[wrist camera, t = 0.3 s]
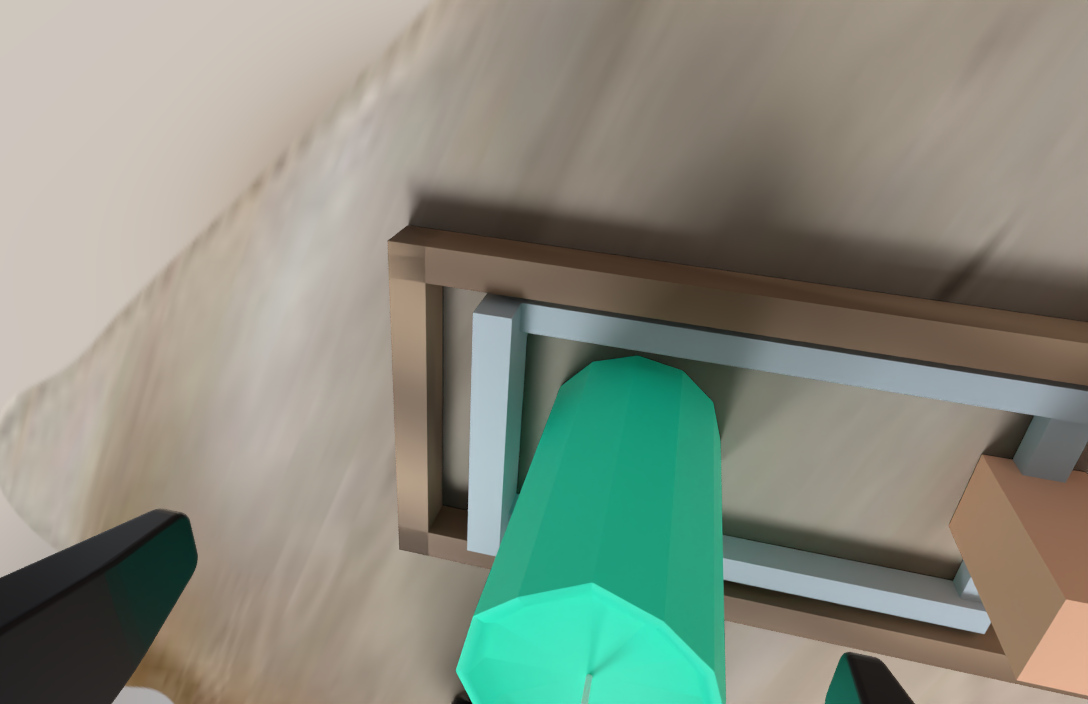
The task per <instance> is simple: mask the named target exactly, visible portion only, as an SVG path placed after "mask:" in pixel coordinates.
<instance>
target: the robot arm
mask: <svg viewBox="0 0 1088 704" xmlns="http://www.w3.org/2000/svg"><path fill="white" fill-rule="evenodd" d="M197 560H198V554H197V549H196V545H195V540H194V536H193V532H192V527H191V523H190V520H189V518H188V517H187V515H186V514H184V513H181V512H177V511H172V510H167V509H155V510H153V511H150V512H148V513H146V514H143V515H141V516H139V517H136V518H134V519H132V520H130V521H127V522H125V523H123V524H121V525H118V526H116V527H114V528H112V529H109V530H107V531H105V532H103V533H100V534H98V535H96V536H94V537H91V538H89V539H87V540H85V541H82V542H80V543H78V544H76V545H73V546H71V547H69V548H67V549H64V550H62V551H60V552H57V553H55V554H53V555H51V556H48V557H46V558H44V559H42V560H40V561H37V562H35V563H33V564H30V565H28V566H26V567H24V568H21V569H19V570H17V571H15V572H13V573H10V574H8V575H6V576H4V577H1V578H0V704H112V702H113V701H114V700H115V698H116V697H117V695H118V694H119V693H120V691H121V690H122V689H123V687H124V686H125V684H126V683H127V681H128V680H129V679H130V677H131V676H132V674H133V673H134V671H135V670H136V668H137V667H138V665H139V664H140V662H141V660H142V659H143V657H144V656H145V654H146V652H147V651H148V649H149V647H150V646H151V644H152V642H153V641H154V639H155V637H156V636H157V634H158V632H159V631H160V629H161V627H162V625H163V624H164V622H165V620H166V619H167V617H168V615H169V614H170V612H171V610H172V609H173V607H174V605H175V604H176V602H177V600H178V599H179V597H180V595H181V593H182V592H183V590H184V588H185V587H186V585H187V583H188V582H189V580H190V578H191V577H192V575H193V573H194V571H195V568H196V565H197ZM452 704H472V702H468V701H464V700H458V699H457V700H454V701H452ZM825 704H915V703H914V702H913V701H912V700H911V698H910V697H909V696H908V694H907V693H906V692H905V690H904V689H903V688H902V686H901V685H900V684H899V682H898V681H897V680H896V678H895V677H894V676H893V674H892V673H891V672H890V670H889V669H888V668H887V666H886V665H885V664H884V663H883V662H882V661H881V660H880V659H878V658H876V657H872V656H867V655H862V654H857V653H853V652H846V653H844V654H843V655H842V657H841V658H840V660H839V663H838V666H837V668H836V671H835V673H834V676H833V679H832V681H831V684H830V686H829V689H828V692H827V695H826V699H825Z"/></svg>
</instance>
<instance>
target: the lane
mask: <svg viewBox="0 0 1088 704" xmlns="http://www.w3.org/2000/svg"><path fill="white" fill-rule="evenodd" d="M388 265H389V291H390V318H391V344H392V370H393V396H394V423H395V449H396V475H397V501H398V528H399V549H400V550H405V551H409V552H414V553H418V554H423V555H427V556H432V557H437V558H441V559H446V560H450V561H455V562H460V563H464V564H469V565H473V566H478V567H483V568H487V569H491V568H492V565H493V563H494V560H495V557H496V556H492V555H487V554H482V553H478V552H473V551H468V550H467V535H468V511H467V510H462V509H457V508H452V507H447V506H443V505H442V396H443V286H447V287H454V288H460V289H466V290H473V291H479V292H486V293H492V294H499V295H505V296H512V297H518V298H525V299H531V300H537V301H544V302H550V303H557V304H563V305H570V306H576V307H583V308H589V309H595V310H602V311H608V312H615V313H621V314H628V315H634V316H641V317H647V318H653V319H660V320H666V321H673V322H679V323H686V324H692V325H699V326H705V327H711V328H718V329H724V330H731V331H737V332H744V333H750V334H757V335H763V336H770V337H776V338H782V339H789V340H795V341H802V342H808V343H815V344H821V345H828V346H834V347H840V348H847V349H853V350H860V351H866V352H873V353H879V354H886V355H892V356H898V357H905V358H911V359H918V360H924V361H931V362H937V363H944V364H950V365H956V366H963V367H969V368H976V369H982V370H989V371H995V372H1002V373H1008V374H1015V375H1021V376H1027V377H1034V378H1040V379H1047V380H1053V381H1060V382H1066V383H1073V384H1079V385H1085V386H1088V322H1083V321H1076V320H1069V319H1062V318H1055V317H1048V316H1041V315H1033V314H1026V313H1019V312H1012V311H1005V310H998V309H991V308H984V307H977V306H970V305H963V304H956V303H949V302H942V301H935V300H928V299H921V298H914V297H907V296H900V295H893V294H886V293H879V292H872V291H865V290H858V289H851V288H844V287H837V286H830V285H823V284H816V283H809V282H802V281H795V280H788V279H781V278H774V277H767V276H760V275H753V274H745V273H738V272H731V271H724V270H717V269H710V268H703V267H696V266H689V265H682V264H675V263H668V262H661V261H654V260H647V259H640V258H633V257H626V256H619V255H612V254H605V253H598V252H591V251H584V250H577V249H570V248H563V247H556V246H549V245H542V244H535V243H528V242H521V241H514V240H507V239H500V238H493V237H486V236H479V235H472V234H465V233H457V232H450V231H443V230H436V229H429V228H422V227H415V226H408V225H407V226H406V227H405V228H404V229H402V230H401V231H400V232H398V233H397V234H396V235H395V236H393V237H392V238H391V239H389V240H388ZM723 584H724V620H726V621H730V622H735V623H740V624H744V625H749V626H753V627H758V628H762V629H767V630H772V631H776V632H781V633H785V634H790V635H795V636H799V637H804V638H808V639H813V640H818V641H822V642H827V643H831V644H836V645H841V646H845V647H850V648H854V649H859V650H863V651H868V652H873V653H877V654H882V655H886V656H891V657H896V658H900V659H905V660H909V661H914V662H919V663H923V664H928V665H932V666H937V667H941V668H946V669H951V670H955V671H960V672H964V673H969V674H974V675H978V676H983V677H987V678H992V679H997V680H1001V681H1006V682H1010V683H1015V684H1020V685H1024V686H1029V687H1033V688H1038V689H1042V690H1047V691H1052V692H1056V693H1061V694H1065V695H1070V696H1075V697H1079V698H1084V699H1088V696H1087V695H1082V694H1078V693H1073V692H1069V691H1064V690H1059V689H1055V688H1050V687H1046V686H1041V685H1036V684H1032V683H1027V682H1023V681H1018V680H1016V678H1015V676H1014V673H1013V671H1012V669H1011V666H1010V664H1009V662H1008V660H1007V657H1006V655H1005V653H1004V651H1003V648H1002V646H1001V644H1000V641H999V639H998V637H997V635H996V632H995V630H994V628H993V626H992V623H990V625H989V627H988V629H987V630H986V632H985V634H981V633H976V632H971V631H967V630H962V629H957V628H952V627H948V626H943V625H938V624H933V623H928V622H924V621H919V620H914V619H909V618H904V617H900V616H895V615H890V614H885V613H881V612H876V611H871V610H866V609H861V608H857V607H852V606H847V605H842V604H838V603H833V602H828V601H823V600H818V599H814V598H809V597H804V596H799V595H795V594H790V593H785V592H780V591H775V590H771V589H766V588H761V587H756V586H751V585H747V584H742V583H737V582H732V581H728V580H723Z"/></svg>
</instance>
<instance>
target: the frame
mask: <svg viewBox="0 0 1088 704" xmlns="http://www.w3.org/2000/svg"><path fill="white" fill-rule="evenodd" d="M527 333H532V334H538V335H544V336H550V337H556V338H562V339H569V340H575V341H581V342H587V343H593V344H599V345H605V346H612V347H618V348H624V349H630V350H636V351H642V352H648V353H655V354H661V355H667V356H673V357H679V358H685V359H691V360H698V361H704V362H710V363H716V364H722V365H728V366H734V367H741V368H747V369H753V370H759V371H765V372H771V373H777V374H784V375H790V376H796V377H802V378H808V379H814V380H820V381H827V382H833V383H839V384H845V385H851V386H857V387H863V388H870V389H876V390H882V391H888V392H894V393H900V394H906V395H913V396H919V397H925V398H931V399H937V400H943V401H949V402H956V403H962V404H968V405H974V406H980V407H986V408H992V409H999V410H1005V411H1011V412H1017V413H1023V414H1029V415H1034V417H1033V419H1032V421H1031V423H1030V425H1029V427H1028V429H1027V431H1026V433H1025V436H1024V438H1023V440H1022V442H1021V444H1020V446H1019V448H1018V450H1017V452H1016V454H1015V456H1014V458H1013V460H1011V459H1006V458H1000V457H994V456H988V455H981V457H980V460H979V462H978V464H977V466H976V468H975V470H974V473H973V475H972V477H971V479H970V481H969V483H968V485H967V488H966V490H965V492H964V494H963V496H962V498H961V501H960V503H959V505H958V507H957V509H956V511H955V513H954V516H953V518H952V520H951V522H950V524H949V528H950V530H951V533H952V535H953V537H954V539H955V542H956V544H957V546H958V548H959V551H960V553H961V555H962V558H963V561H962V563H961V565H960V567H959V569H958V571H957V574H956V576H955V578H954V580H953V581H951V580H946V579H941V578H936V577H931V576H926V575H921V574H916V573H911V572H906V571H901V570H896V569H891V568H886V567H881V566H876V565H871V564H866V563H861V562H856V561H851V560H846V559H841V558H836V557H831V556H826V555H821V554H816V553H811V552H806V551H801V550H796V549H791V548H786V547H781V546H776V545H771V544H766V543H761V542H756V541H751V540H746V539H741V538H736V537H731V536H726V535H723V580H728V581H732V582H737V583H742V584H747V585H751V586H756V587H761V588H766V589H771V590H775V591H780V592H785V593H790V594H795V595H799V596H804V597H809V598H814V599H818V600H823V601H828V602H833V603H838V604H842V605H847V606H852V607H857V608H861V609H866V610H871V611H876V612H881V613H885V614H890V615H895V616H900V617H904V618H909V619H914V620H919V621H924V622H928V623H933V624H938V625H943V626H948V627H952V628H957V629H962V630H967V631H971V632H976V633H981V634H985V632H986V630H987V629H988V627H989V625H990V623H992V626H993V628H994V630H995V632H996V635H997V637H998V639H999V641H1000V644H1001V646H1002V648H1003V651H1004V653H1005V655H1006V657H1007V660H1008V662H1009V664H1010V666H1011V669H1012V671H1013V673H1014V676H1015V678H1016V680H1018V681H1023V682H1027V683H1032V684H1036V685H1041V686H1046V687H1050V688H1055V689H1059V690H1064V691H1069V692H1073V693H1078V694H1082V695H1087V696H1088V475H1087V473H1086V472H1081V471H1075V470H1073V468H1074V466H1075V464H1076V463H1077V461H1078V459H1079V457H1080V455H1081V454H1082V452H1083V450H1084V448H1085V446H1086V444H1087V443H1088V386H1085V385H1079V384H1073V383H1066V382H1060V381H1053V380H1047V379H1040V378H1034V377H1027V376H1021V375H1015V374H1008V373H1002V372H995V371H989V370H982V369H976V368H969V367H963V366H956V365H950V364H944V363H937V362H931V361H924V360H918V359H911V358H905V357H898V356H892V355H886V354H879V353H873V352H866V351H860V350H853V349H847V348H840V347H834V346H828V345H821V344H815V343H808V342H802V341H795V340H789V339H782V338H776V337H770V336H763V335H757V334H750V333H744V332H737V331H731V330H724V329H718V328H711V327H705V326H699V325H692V324H686V323H679V322H673V321H666V320H660V319H653V318H647V317H641V316H634V315H628V314H621V313H615V312H608V311H602V310H595V309H589V308H583V307H576V306H570V305H563V304H557V303H550V302H544V301H537V300H531V299H525V298H518V297H512V296H505V295H499V294H492V293H487V294H486V296H485V297H484V299H483V300H482V301H481V303H480V304H479V305H478V307H477V308H476V309H475V311H474V312H473V336H472V375H471V415H470V455H469V495H468V535H467V550H468V551H473V552H478V553H482V554H487V555H492V556H496V555H497V552H498V550H499V547H500V544H501V542H502V539H503V536H504V534H505V531H506V529H507V526H508V523H509V521H510V518H511V515H512V513H513V510H514V507H515V505H516V502H517V500H518V497H519V494H517V479H518V464H519V449H520V435H521V420H522V405H523V390H524V375H525V361H526V346H527Z"/></svg>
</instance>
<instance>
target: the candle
mask: <svg viewBox="0 0 1088 704" xmlns="http://www.w3.org/2000/svg"><path fill="white" fill-rule="evenodd" d="M456 673H457V675H458V677H459V678H460V680H461V682H462V684H463V686H464V688H465V690H466V692H467V694H468V696H469V698H470V700H471V702H472V704H726V683H725V633H724V584H723V534H722V485H721V440H720V435H719V430H718V424H717V419H716V414H715V409H714V403H713V402H712V401H711V399H710V398H709V397H708V396H707V395H706V394H705V393H704V392H703V391H702V390H701V389H700V388H699V387H698V386H697V385H696V384H695V383H694V382H693V381H692V380H691V378H690V377H689V376H688V375H687V374H686V373H685V372H684V371H683V370H680V369H677V368H674V367H671V366H668V365H665V364H662V363H659V362H656V361H653V360H650V359H647V358H644V357H641V356H638V355H637V356H630V357H623V358H616V359H609V360H602V361H594V362H592V363H590V364H589V365H588V366H586V367H585V368H584V369H583V370H581V371H580V372H579V373H577V374H576V375H575V376H573V377H572V378H571V379H570V380H568V381H567V382H566V383H564V384H563V385H562V386H560V389H559V392H558V394H557V397H556V399H555V402H554V405H553V407H552V410H551V413H550V415H549V418H548V420H547V423H546V426H545V428H544V431H543V434H542V436H541V439H540V442H539V444H538V447H537V449H536V452H535V455H534V457H533V460H532V463H531V465H530V468H529V471H528V473H527V476H526V478H525V481H524V484H523V486H522V489H521V492H520V494H519V497H518V500H517V502H516V505H515V507H514V510H513V513H512V515H511V518H510V521H509V523H508V526H507V529H506V531H505V534H504V536H503V539H502V542H501V544H500V547H499V550H498V552H497V555H496V557H495V560H494V563H493V565H492V568H491V571H490V573H489V576H488V579H487V581H486V584H485V586H484V589H483V592H482V594H481V597H480V600H479V602H478V605H477V608H476V610H475V613H474V615H473V618H472V622H471V625H470V628H469V631H468V634H467V637H466V640H465V643H464V646H463V649H462V653H461V656H460V659H459V662H458V665H457V668H456Z"/></svg>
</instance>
